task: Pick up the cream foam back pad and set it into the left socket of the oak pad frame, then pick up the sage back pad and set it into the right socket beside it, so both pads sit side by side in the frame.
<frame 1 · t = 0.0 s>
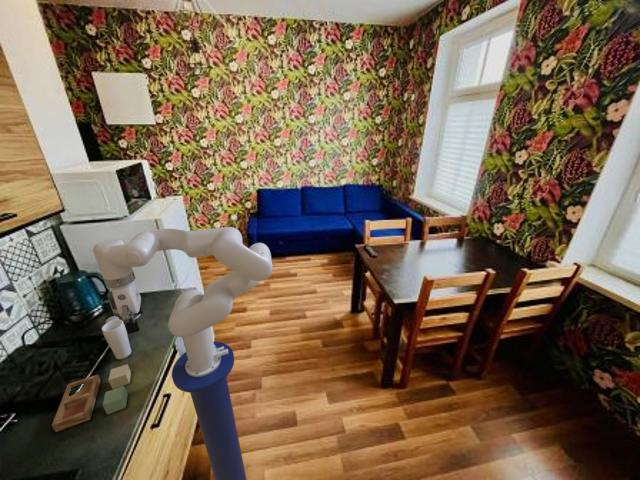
hand: (135, 322, 89), 24 cm above the kitchen counter, tool pointing down, fingers open, 9 cm apart
coffee can: (129, 316, 128), on the kitchen counter
sage pad: (117, 404, 87), on the kitchen counter
cream pad: (122, 380, 96), on the kitchen counter
salt shaker: (121, 343, 112), on the kitchen counter
pad frame: (80, 404, 88), on the kitchen counter
drinking glass: (124, 355, 107), on the kitchen counter
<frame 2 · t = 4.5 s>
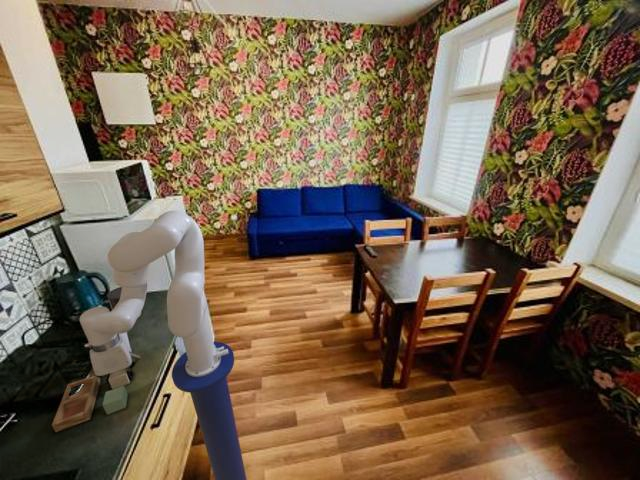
hand: (121, 380, 95), 0 cm above the kitchen counter, tool pointing down, fingers closed on cream pad, 5 cm apart
cream pad: (122, 380, 96), on the kitchen counter, touching gripper
everything else where it was.
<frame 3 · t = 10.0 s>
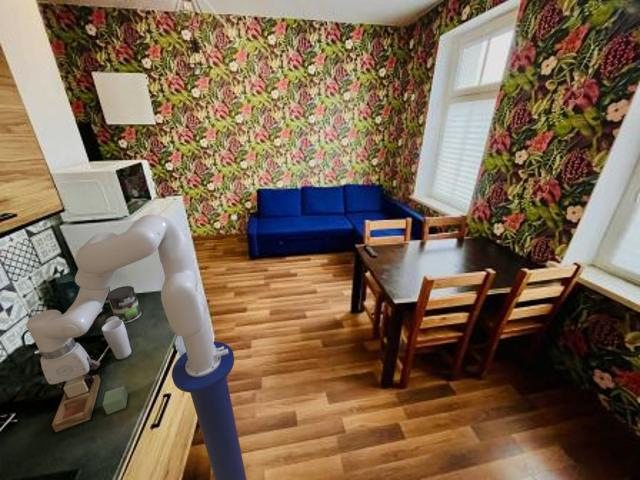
hand: (80, 388, 89), 3 cm above the kitchen counter, tool pointing down, fingers closed on cream pad, 5 cm apart
cream pad: (80, 388, 89), point 3 cm above the kitchen counter, touching gripper
everything else where it was.
when the fingers open (3 cm above the kitchen counter, at t = 14.2 s): cream pad drops 2 cm, resting on pad frame.
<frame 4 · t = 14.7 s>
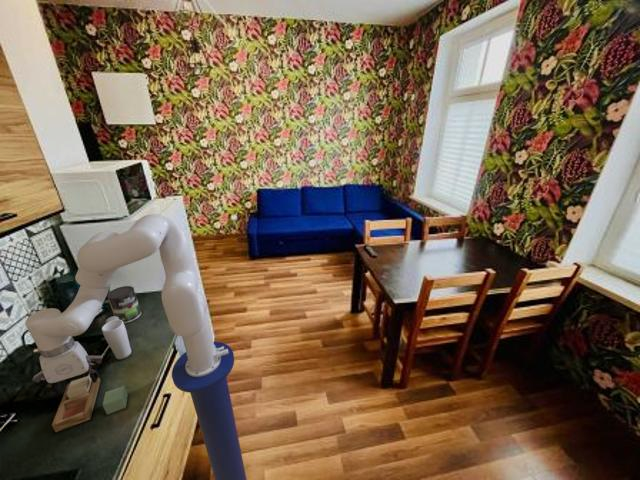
hand: (78, 385, 89), 5 cm above the kitchen counter, tool pointing down, fingers open, 9 cm apart
cream pad: (83, 393, 90), point 1 cm above the kitchen counter, touching pad frame
everything else where it was.
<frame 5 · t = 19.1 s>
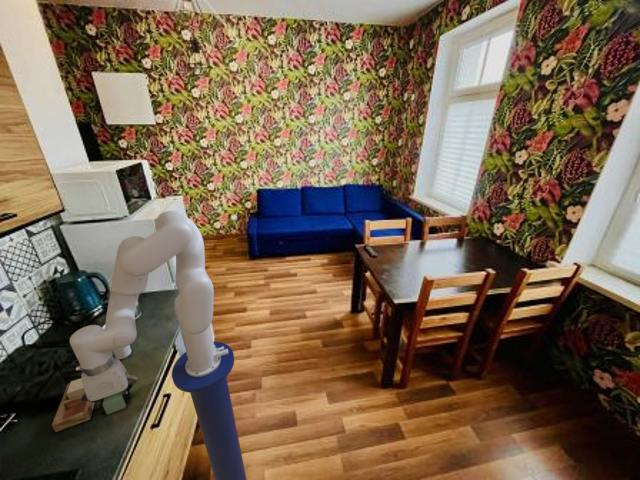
hand: (117, 403, 87), 0 cm above the kitchen counter, tool pointing down, fingers closed on sage pad, 5 cm apart
sage pad: (117, 404, 87), on the kitchen counter, touching gripper
everything else where it was.
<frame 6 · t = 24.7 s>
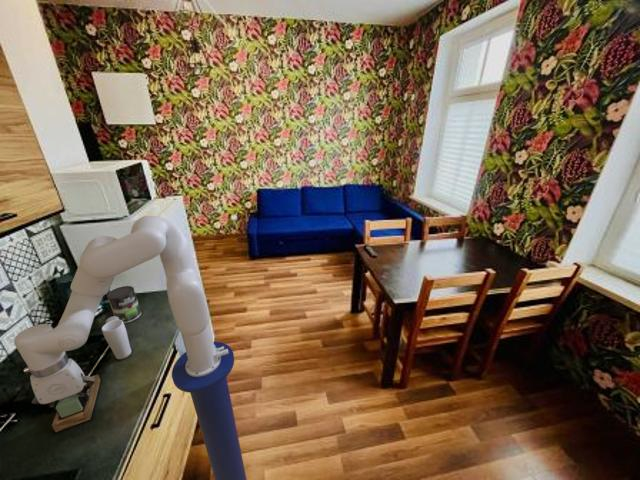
hand: (73, 406, 83), 3 cm above the kitchen counter, tool pointing down, fingers closed on sage pad, 5 cm apart
sage pad: (74, 407, 83), point 3 cm above the kitchen counter, touching gripper
everything else where it was.
when the fingers open (4 cm above the kitchen counter, at t = 28.9 s): sage pad drops 2 cm, resting on pad frame.
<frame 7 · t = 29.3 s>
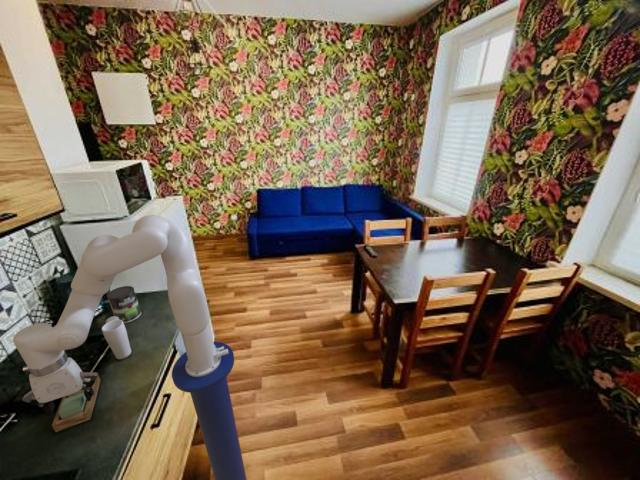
hand: (71, 403, 83), 5 cm above the kitchen counter, tool pointing down, fingers open, 9 cm apart
sage pad: (76, 411, 84), point 1 cm above the kitchen counter, touching pad frame
everything else where it was.
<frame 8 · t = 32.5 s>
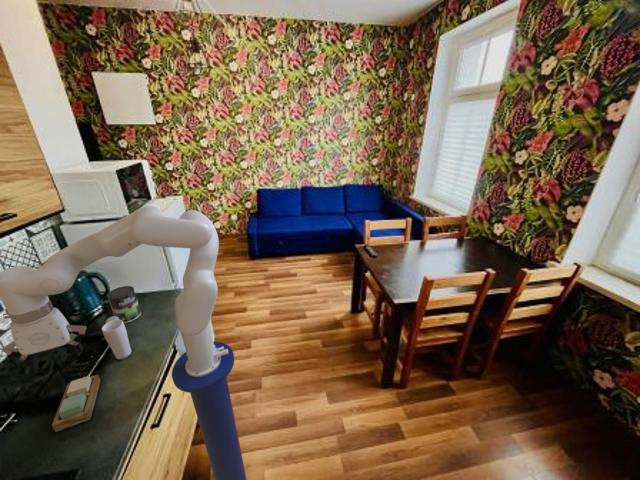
hand: (58, 359, 77), 22 cm above the kitchen counter, tool pointing down, fingers open, 9 cm apart
nothing on the kitchen counter moved.
at the end: cream pad 0.1 cm from the target spot in the pad frame, point 0.6 cm above the pad frame's base; sage pad 0.1 cm from the target spot in the pad frame, point 0.8 cm above the pad frame's base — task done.
